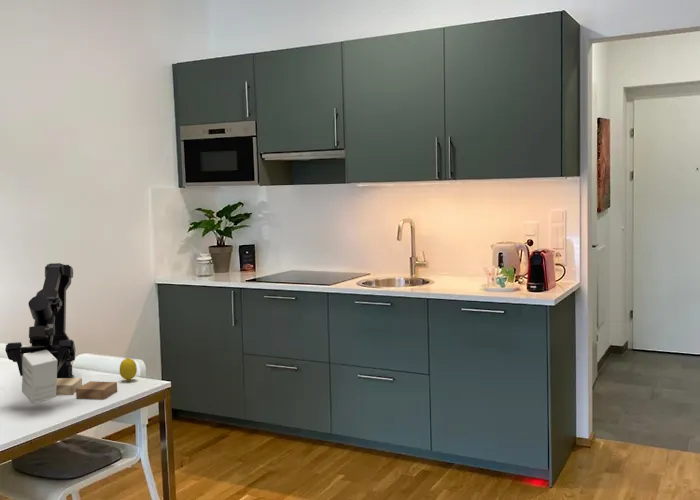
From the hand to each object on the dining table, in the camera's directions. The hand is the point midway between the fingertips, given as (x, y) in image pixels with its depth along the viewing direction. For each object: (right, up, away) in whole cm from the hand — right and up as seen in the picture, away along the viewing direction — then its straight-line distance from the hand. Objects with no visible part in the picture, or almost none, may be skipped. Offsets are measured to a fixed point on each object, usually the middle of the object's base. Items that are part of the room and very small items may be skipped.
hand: (38, 374), depth 209 cm
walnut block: (+12, -9, +16) cm, 22 cm away
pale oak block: (-1, -9, +20) cm, 22 cm away
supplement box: (-1, -7, +2) cm, 7 cm away
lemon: (+16, -8, +32) cm, 37 cm away
